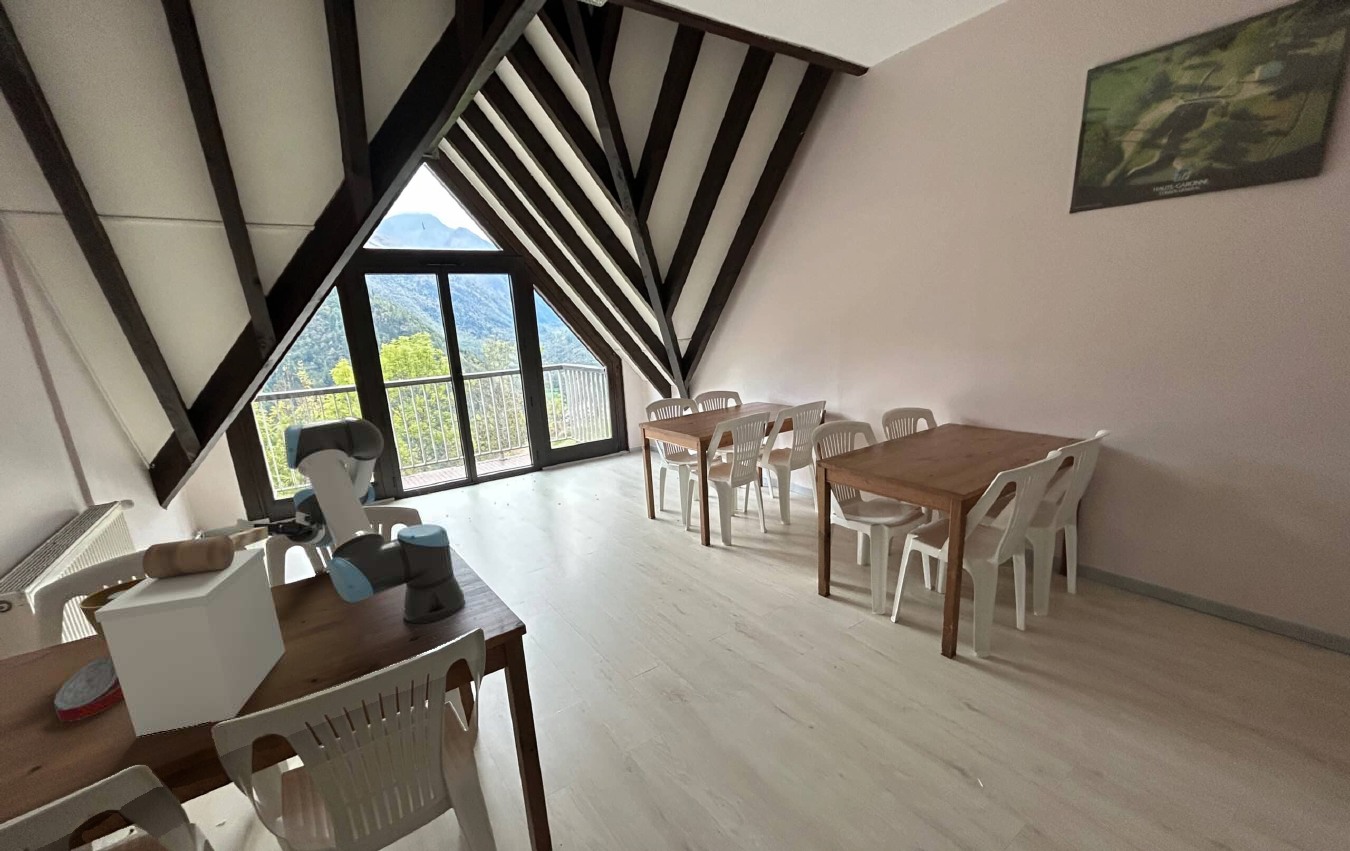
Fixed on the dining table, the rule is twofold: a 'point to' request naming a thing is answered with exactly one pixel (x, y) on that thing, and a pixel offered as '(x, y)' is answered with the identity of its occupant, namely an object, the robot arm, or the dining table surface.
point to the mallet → (197, 554)
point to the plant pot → (103, 603)
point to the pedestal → (193, 643)
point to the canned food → (89, 690)
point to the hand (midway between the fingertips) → (268, 520)
